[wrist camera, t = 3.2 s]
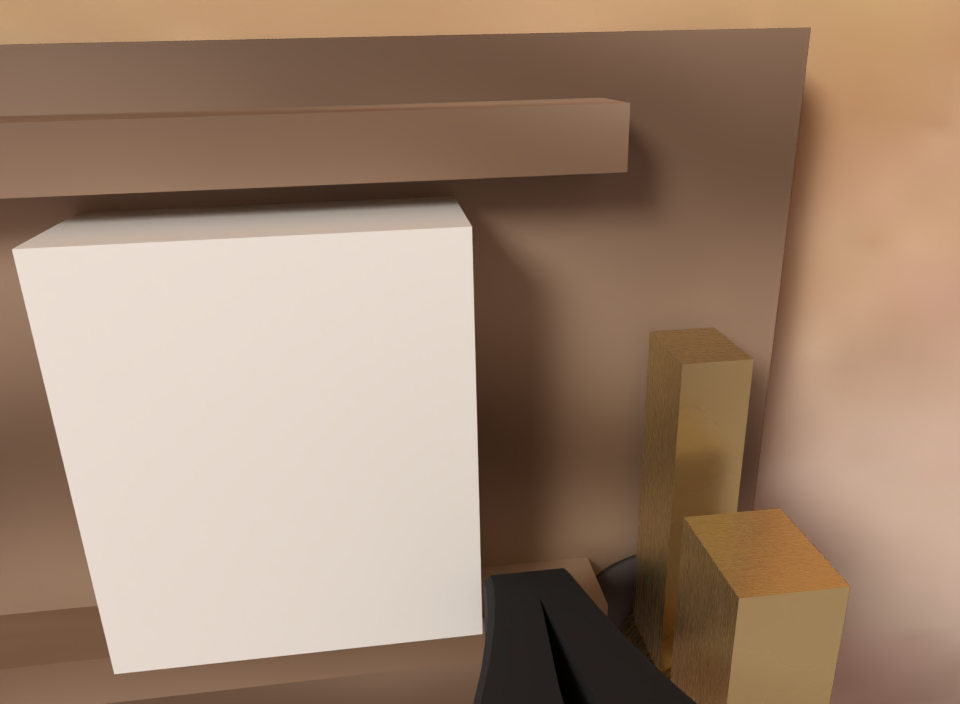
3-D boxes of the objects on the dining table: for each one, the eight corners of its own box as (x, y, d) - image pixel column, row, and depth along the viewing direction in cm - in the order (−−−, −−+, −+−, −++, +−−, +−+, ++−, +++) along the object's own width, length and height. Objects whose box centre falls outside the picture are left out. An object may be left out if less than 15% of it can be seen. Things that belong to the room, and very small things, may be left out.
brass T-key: (681, 795, 19) (777, 1023, 14) (607, 806, 18) (681, 1040, 14) (727, 324, 14) (882, 442, 10) (631, 330, 14) (749, 454, 10)
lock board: (694, 660, 20) (756, 777, 17) (-53, 747, 18) (-146, 899, 15) (755, 30, 15) (863, 24, 12) (-300, 53, 13) (-528, 53, 9)
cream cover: (465, 548, 16) (482, 634, 13) (153, 578, 15) (113, 674, 13) (453, 195, 13) (472, 226, 11) (77, 212, 12) (12, 249, 10)
